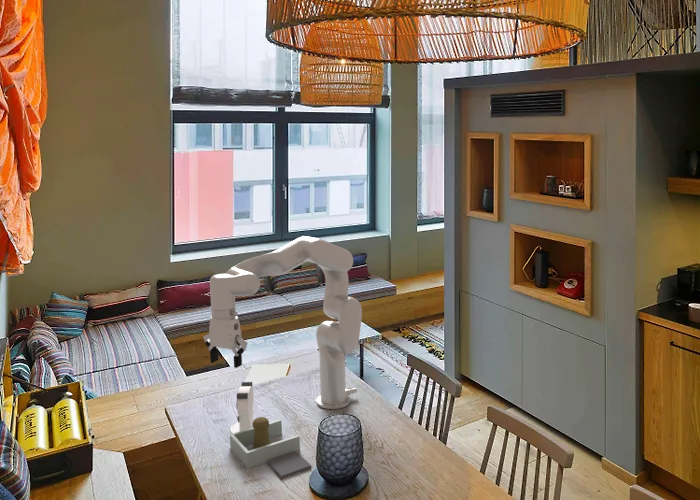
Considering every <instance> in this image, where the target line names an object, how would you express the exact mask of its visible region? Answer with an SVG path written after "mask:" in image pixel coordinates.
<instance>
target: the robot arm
mask: <svg viewBox="0 0 700 500" xmlns="http://www.w3.org/2000/svg"><path fill="white" fill-rule="evenodd" d="M353 257H354V256H353V255H352V253H351V252H350V251H349V250H348V249H347V248H343V247H341V246H338V245H336V244H333V243H331V242H329V241H326V240H325V239H321V238H319V237H312V236H305V235H304V236H300V237H297V238H296V239H294V240H293V241H290V242H288V243H287V244H285V245H283V246H281V247H280V248H277V249H276V250H273V251H272V252H271V251H270V252H269V253H263V254H260V255H257V256H254V257H251V258H248V259H245V260H243V261H241V262H239V263H237V264H236V265H234V266H232V267H230V268H229V269H228V270H227V271H226V272H225V273H218V274H213V275H212V276H210V279H209V293H210V307H211V308H210V309H211V311H210V313H211V316H210V319H209V326H208V327H209V330H208V331H209V332H208V333H206V334H205V335H203V336H202V338H203V340H204V342H205V345H206V347H207V350H208V351H209V355H210V356H209V357H210V364H211V363H212V364H213V363H216V362H218V361H219V349H218V348H220V349H225V350H230V351H232V353H233V354H234V355H233V368H234V369H237V368H239V367H241V366H242V365H243V356H242V354H244V352H245V351H246V350H247V346H248V345H249V344H248V342H247V341H246V340H245V339H244V338H243V337H242V329H241V324H240V320H239V317H238V316H237V315H238V311H236V297H241V296H242V297H243V296H251V295H255V294H256V293H257V292H258V291H259V290H260V287H261V281H260V278H263V277H270V276H271V277H275V276H282V275H286V274H287V273H289V272H290V271H293V270H294V269H295V268H298V267H299V266H301V265H303V264H305V263H307V262H309V263H312V264H316V265H317V266H318V268H320V269H321V270H322V272H323V275H324V278H325V287H324V297H323V304H322V305H323V306H322V308H323V309H322V311H323V313H324V315H325V316H327V317H329V318H330V319H333V320H336V321H338V322H336V321H333V320H325V321H323V322H321V323H320V324H319V325H318V327H317V329H316V333H315V336H316V337H315V338H316V343H317V347H318V353H319V357H318V358H319V378H320V379H319V380H320V382H319V383H320V395H319V396H318V397H317V398H316V404H317V406H319V407H320V408H323V409H326V410H327V409H328V410H338V409H342V408H345V407H347V406H349V404H350V403H351V398H350V396H351V394H352V395H353V394H356V393H357V392H358V390H357V387H353V388H351V387H349V386H348V387H346V384H347V383H346V355H345V354H351V353H353V352H354V351H355V350H356V349H357V346H358V344H359V341H360V334H361V327H362V326H361V325H362V317H363V309H362V304H361V303H360V301H359V300H358V299H357V298H355V297H352V296H349V273H348V271H350V270H351V269H352V267H353V265H354V258H353Z"/></svg>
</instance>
